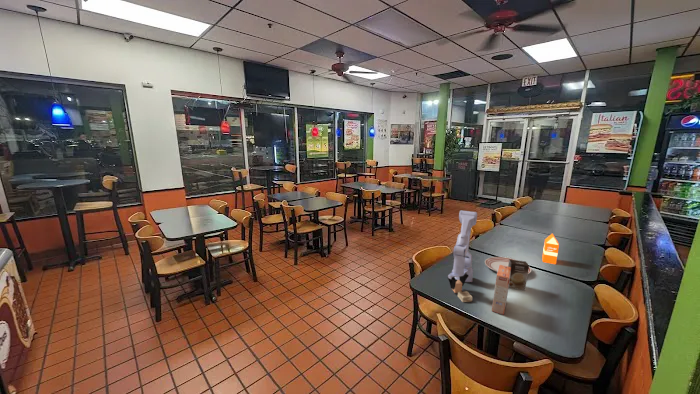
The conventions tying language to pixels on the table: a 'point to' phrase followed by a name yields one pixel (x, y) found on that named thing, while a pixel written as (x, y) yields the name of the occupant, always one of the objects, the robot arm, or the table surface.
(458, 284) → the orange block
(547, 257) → the orange juice
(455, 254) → the robot arm
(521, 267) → the coffee box
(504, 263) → the dinner plate
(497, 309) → the cracker box
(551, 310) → the table surface
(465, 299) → the beech base
